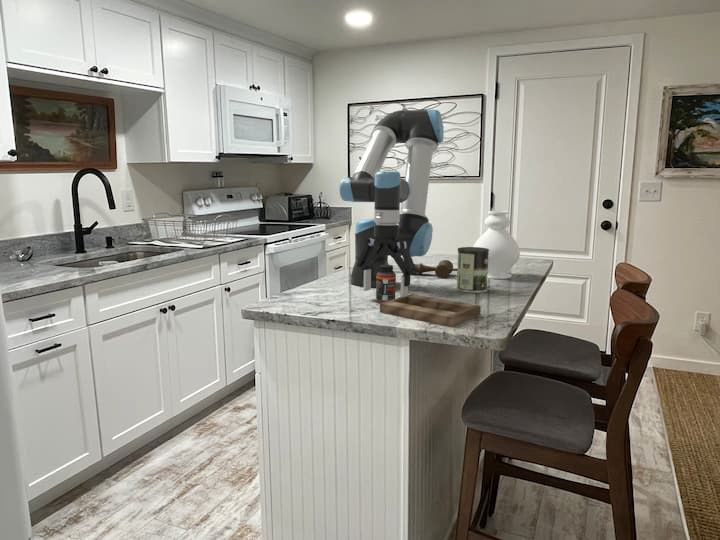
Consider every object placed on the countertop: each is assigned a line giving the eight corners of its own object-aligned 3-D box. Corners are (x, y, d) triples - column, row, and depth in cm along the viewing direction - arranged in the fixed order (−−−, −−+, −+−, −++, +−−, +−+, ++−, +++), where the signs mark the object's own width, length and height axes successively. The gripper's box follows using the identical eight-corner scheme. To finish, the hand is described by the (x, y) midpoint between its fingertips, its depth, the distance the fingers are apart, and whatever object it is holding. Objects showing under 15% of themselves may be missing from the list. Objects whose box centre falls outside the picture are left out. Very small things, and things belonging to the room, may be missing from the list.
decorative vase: (490, 281, 193) (493, 213, 189) (462, 273, 209) (464, 210, 205) (528, 278, 200) (532, 212, 196) (498, 270, 216) (501, 209, 212)
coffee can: (486, 287, 183) (488, 247, 181) (487, 293, 174) (489, 251, 171) (456, 286, 185) (458, 246, 183) (455, 292, 176) (457, 250, 173)
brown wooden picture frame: (379, 311, 149) (379, 303, 149) (411, 301, 162) (411, 293, 161) (451, 326, 135) (452, 317, 135) (480, 314, 148) (480, 305, 147)
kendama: (411, 273, 213) (462, 275, 207) (406, 278, 204) (459, 280, 198) (411, 258, 211) (462, 259, 205) (406, 263, 202) (459, 264, 196)
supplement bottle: (389, 305, 158) (390, 267, 156) (372, 302, 161) (372, 265, 159) (398, 301, 163) (399, 264, 161) (382, 298, 166) (382, 263, 164)
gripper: (346, 222, 162) (345, 289, 166) (415, 227, 147) (413, 301, 150) (361, 220, 168) (360, 286, 171) (429, 225, 153) (427, 297, 156)
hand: (385, 293), depth 161 cm, fingers open, 13 cm apart
